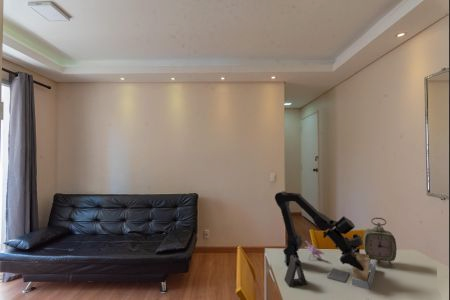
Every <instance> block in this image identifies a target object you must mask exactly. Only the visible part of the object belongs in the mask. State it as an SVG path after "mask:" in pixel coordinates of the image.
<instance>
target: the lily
mask: <svg viewBox="0 0 450 300" xmlns="http://www.w3.org/2000/svg"><path fill="white" fill-rule="evenodd" d="M305 243H306V244H307V246H304V248H305V249H307V250H308V251H309V252H310V255H309V258H308V260H310V258H311V256H317V257H318V258H319V259H321V260H322V257H321V255H325V253H324V252H323V251H322V250H320V249H318V248H317V247H316V245H312V244H311V243H310V242H308V241H307V240H305Z"/></svg>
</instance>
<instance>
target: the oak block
mask: <svg viewBox="0 0 450 300" xmlns="http://www.w3.org/2000/svg"><path fill="white" fill-rule="evenodd" d="M354 255H356V258H357V260H358V262H359V263H360V264H361V266H362V267H363V269H364V270H363V271H361V270H359V269H357V268H355V267H353V266H352V278H355V279H359V280H363V281H367V282H368V278H369V272H370V269H369V255H367V254H366V253H361V252H360V253H357V252H355V253H354Z"/></svg>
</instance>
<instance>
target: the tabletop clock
mask: <svg viewBox="0 0 450 300" xmlns="http://www.w3.org/2000/svg"><path fill="white" fill-rule="evenodd" d="M374 220H382V221H384V222H385V223H382V224H381V223H380V222H377V223H374V222H373V221H374ZM371 223H372V225H374V227H373V228H369V229H365V230H364V232H363V239H362V241H363V243H362V244H363V249H364V252H365V253H364V254H367V255H369V263H371V260H374V261H376V263H380V262H388V263H389V267H390V268H394V266H395V265H394V264H392V263H391V262H394V261H395V259H397V258H396V257H397V251H398V250H397V241H396V238H395V236H394V235H393V233H392V232H390V231H389V230H386V229H384V227H383V226H385V225H386V224H387V221H386V219H384V218H383V217H373V218H371Z"/></svg>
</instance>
